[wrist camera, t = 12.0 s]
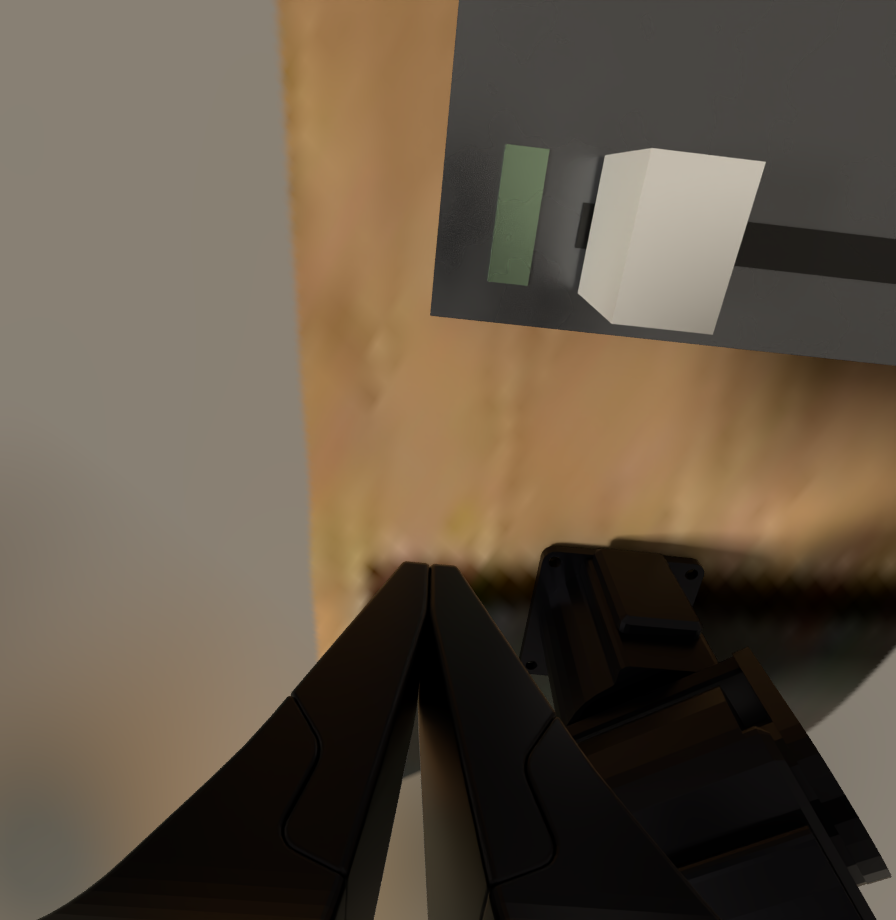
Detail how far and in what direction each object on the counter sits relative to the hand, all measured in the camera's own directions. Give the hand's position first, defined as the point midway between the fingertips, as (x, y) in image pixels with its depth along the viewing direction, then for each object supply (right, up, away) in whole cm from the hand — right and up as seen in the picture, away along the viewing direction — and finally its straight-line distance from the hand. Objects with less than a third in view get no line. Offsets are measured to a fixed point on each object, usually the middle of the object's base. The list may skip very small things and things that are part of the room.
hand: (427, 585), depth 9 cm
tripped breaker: (+5, +8, +7) cm, 12 cm away
